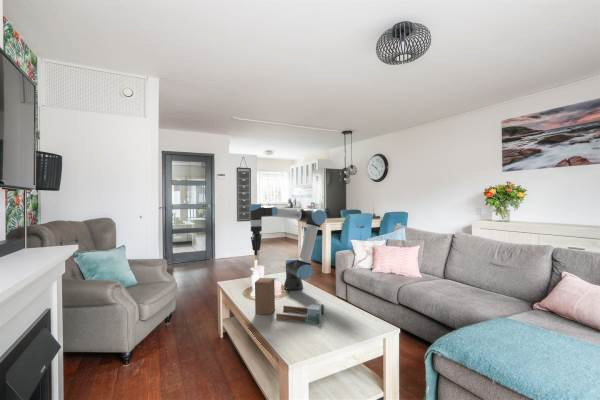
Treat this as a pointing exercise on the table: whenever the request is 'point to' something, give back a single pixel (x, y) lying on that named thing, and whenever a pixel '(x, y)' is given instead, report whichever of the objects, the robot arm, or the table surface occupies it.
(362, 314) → the table surface
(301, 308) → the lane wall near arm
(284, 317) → the lane wall camera side
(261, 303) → the wooden block
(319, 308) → the slate block
